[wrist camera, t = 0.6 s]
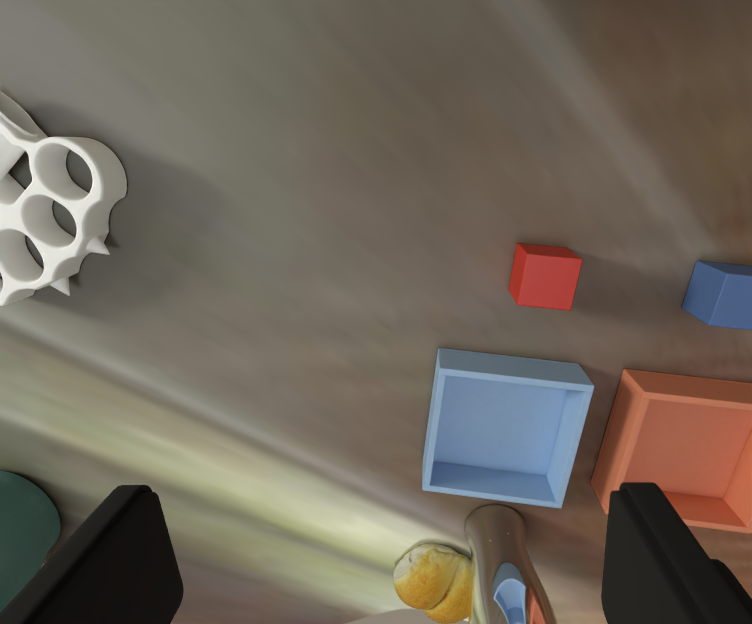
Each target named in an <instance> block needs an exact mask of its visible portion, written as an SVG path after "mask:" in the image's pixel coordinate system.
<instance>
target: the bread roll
mask: <svg viewBox="0 0 752 624" xmlns="http://www.w3.org/2000/svg"><path fill="white" fill-rule="evenodd" d="M471 571H472V562H471V561H470V560H469V559H468V558H467V557H465V556H464V555H460V554H458V553H456V552H455V551H454V550H453V549H451V548H449V547H446V546H442V545H439V544H424V545H420V546H417V547H416V548H414V549H413V550H412V551H410V552H408V553H407V554H406V555H405V556H404V557H403V558H402V560H401V561H400V562H399V563H398V565H397V566H396V568H395V571H394V575H393V576H394V580H395V581H394V586H395V590H396V592H397V594H398V596H399V598H400V599H401V600H402V601H403V602H404V603H405V604H407V605H408V606H411V607H413V608H416V609H423V611H424V612H425V614H426V615H427V616H428V617H429V618H431V619H432V620H434V621H436V622H439V623H442V624H450V623H456V622H459V621H462V620H463V619H465V618H467V617H468V614H469V593H470V582H471Z"/></svg>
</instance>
